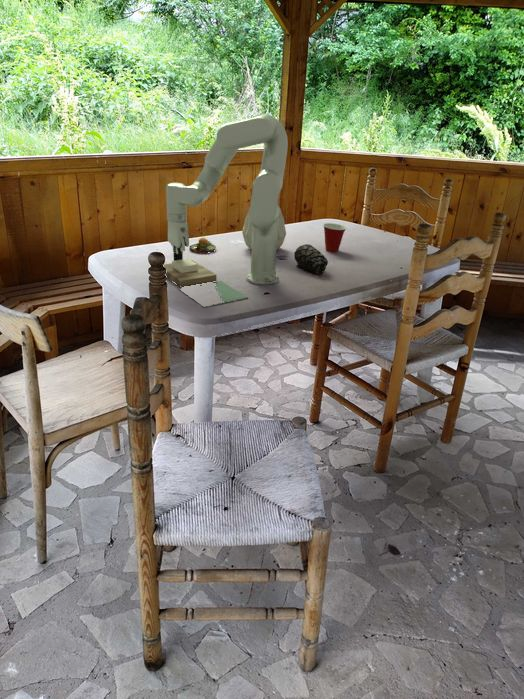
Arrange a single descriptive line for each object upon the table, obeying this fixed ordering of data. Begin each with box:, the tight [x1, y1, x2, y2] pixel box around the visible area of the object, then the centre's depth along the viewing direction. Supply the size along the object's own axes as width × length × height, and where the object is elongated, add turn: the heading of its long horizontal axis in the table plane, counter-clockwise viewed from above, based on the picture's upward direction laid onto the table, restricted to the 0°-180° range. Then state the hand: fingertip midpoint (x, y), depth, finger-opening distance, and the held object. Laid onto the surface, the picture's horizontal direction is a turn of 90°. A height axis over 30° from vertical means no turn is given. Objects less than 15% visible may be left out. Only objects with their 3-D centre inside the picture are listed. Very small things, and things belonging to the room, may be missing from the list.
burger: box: [189, 236, 217, 254], centre depth 248 cm, size 12×12×8 cm
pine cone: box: [293, 243, 329, 277], centre depth 229 cm, size 10×18×10 cm, turn 39°
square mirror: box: [200, 280, 249, 303], centre depth 202 cm, size 19×18×1 cm
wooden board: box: [163, 259, 217, 287], centre depth 216 cm, size 20×15×3 cm
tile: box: [171, 258, 199, 273], centre depth 216 cm, size 8×7×2 cm
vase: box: [241, 181, 287, 251], centre depth 247 cm, size 20×20×30 cm
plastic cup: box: [322, 222, 348, 254], centre depth 254 cm, size 11×11×12 cm
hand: (178, 262), depth 220 cm, fingers closed
